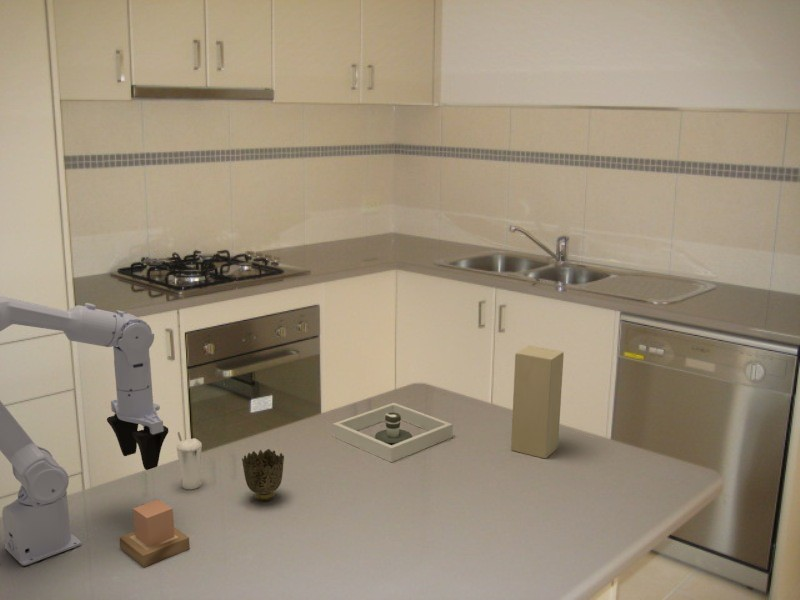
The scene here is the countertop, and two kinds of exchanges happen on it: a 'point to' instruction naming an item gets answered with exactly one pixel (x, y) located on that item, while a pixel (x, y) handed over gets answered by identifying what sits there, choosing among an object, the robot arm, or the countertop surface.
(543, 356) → the tan tall block
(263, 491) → the cup
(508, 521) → the countertop surface
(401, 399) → the countertop surface
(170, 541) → the base slab
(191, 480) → the milkshake
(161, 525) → the block
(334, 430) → the cup tray
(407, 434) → the coffee cup
